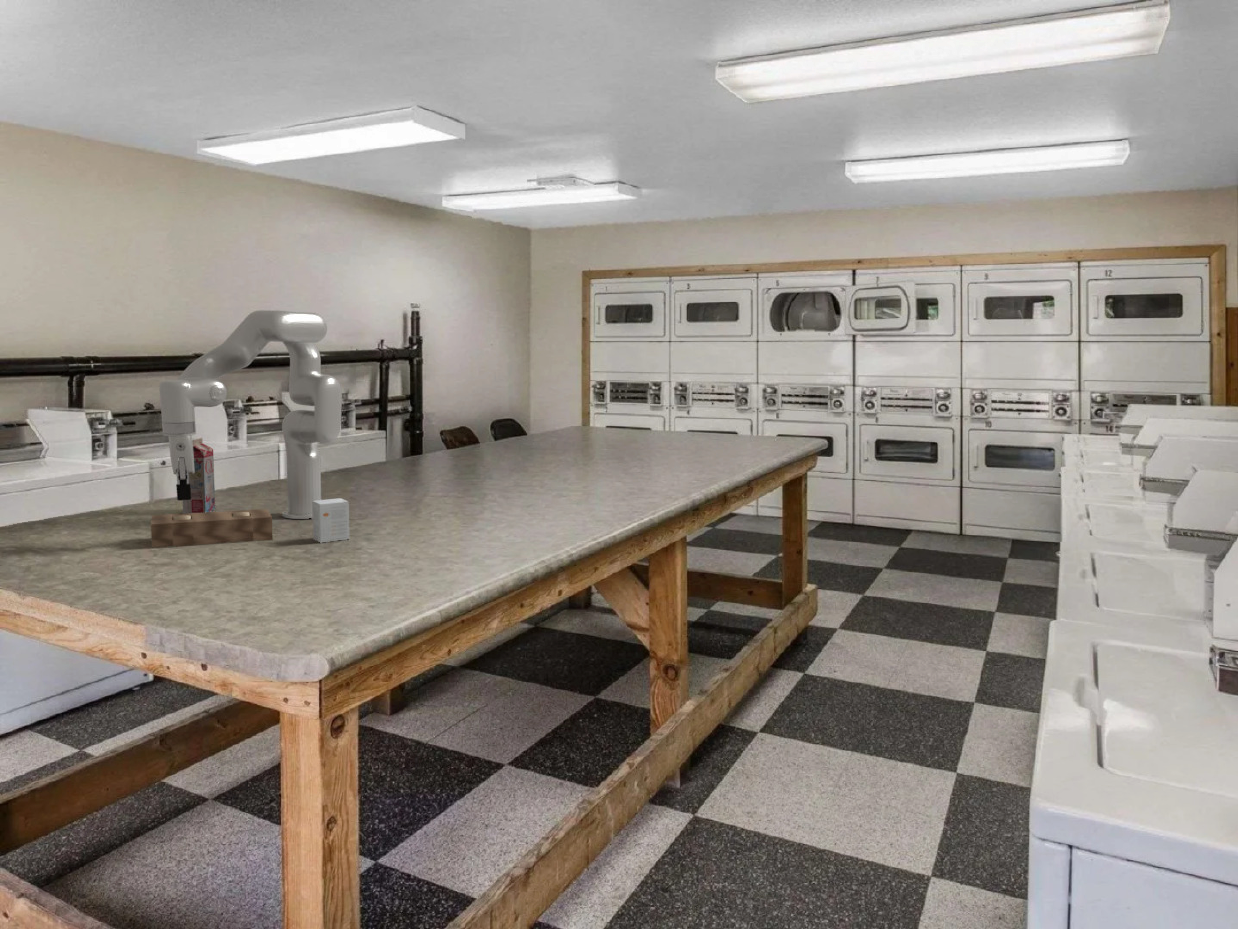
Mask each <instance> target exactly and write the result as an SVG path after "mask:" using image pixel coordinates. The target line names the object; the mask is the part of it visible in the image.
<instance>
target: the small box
mask: <svg viewBox="0 0 1238 929" xmlns="http://www.w3.org/2000/svg"><path fill="white" fill-rule="evenodd" d="M349 503H350V502H349V501H348V500H346V499H343V498H341V497H340V498H339V497H338V498H329V499H328V498H327V499H322V500H316V501H312V518H311V520H312V539H313V540H314V541H316V540H317V541H318V542H317V541H316V542H317V543H319V542H320V544H323V543H322V542H326V543H331V542H330V541H334V542H338V541H337V540H342V541H348V540H347V539H349V540H350V514H349V513H350V508H349V507H350V506H349Z"/></svg>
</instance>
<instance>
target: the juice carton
mask: <svg viewBox="0 0 1238 929" xmlns="http://www.w3.org/2000/svg"><path fill="white" fill-rule="evenodd" d="M192 442H193V454H194V469H195V472H194V473H193V474H192V472H189V470H188V473H189V483H190V488H191V499H190V500H182V514H188V513H205V511H206V512H210V511H212V510H214V509H215V510H216V494H215V492H216V490H215V489H216V488H215V486H216V485H215V464H214V462H215V461H214V458H215V457H214V449H213V448H212V447H210V446H208V445H207V444H205V443H203V438H202V437H201V438H196V439H192ZM215 510H214V511H215ZM212 512H213V511H212Z"/></svg>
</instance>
